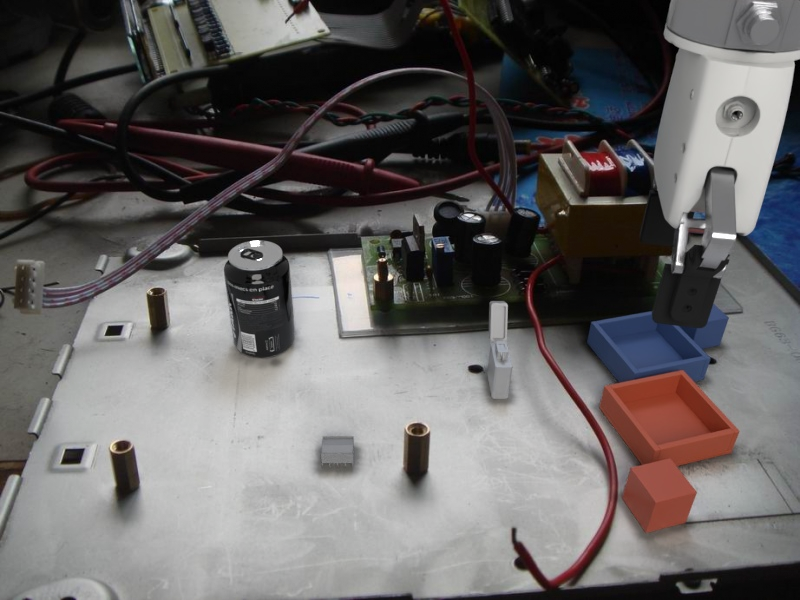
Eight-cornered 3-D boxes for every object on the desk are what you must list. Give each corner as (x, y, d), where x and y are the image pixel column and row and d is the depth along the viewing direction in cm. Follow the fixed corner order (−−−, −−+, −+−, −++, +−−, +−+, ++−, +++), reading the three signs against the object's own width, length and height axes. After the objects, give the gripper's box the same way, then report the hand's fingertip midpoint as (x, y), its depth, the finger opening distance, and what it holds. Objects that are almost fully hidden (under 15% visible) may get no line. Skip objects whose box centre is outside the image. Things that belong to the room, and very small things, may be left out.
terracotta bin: (676, 391, 79) (683, 369, 78) (731, 453, 72) (740, 431, 71) (599, 407, 77) (604, 385, 75) (647, 473, 70) (654, 450, 68)
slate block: (699, 325, 89) (707, 297, 87) (719, 345, 86) (729, 317, 84) (669, 330, 88) (677, 303, 86) (689, 351, 85) (698, 323, 83)
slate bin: (656, 329, 88) (662, 309, 86) (704, 379, 81) (711, 358, 79) (586, 342, 86) (591, 321, 84) (629, 395, 79) (634, 373, 77)
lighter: (508, 398, 78) (516, 338, 73) (491, 398, 78) (499, 338, 73) (499, 355, 84) (506, 296, 79) (483, 355, 84) (489, 296, 79)
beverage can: (257, 320, 88) (247, 231, 81) (307, 336, 86) (301, 246, 79) (222, 353, 83) (207, 261, 76) (273, 371, 81) (264, 278, 74)
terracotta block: (660, 488, 69) (670, 458, 66) (686, 522, 65) (697, 492, 63) (621, 497, 68) (630, 467, 65) (645, 533, 64) (656, 502, 62)
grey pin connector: (321, 468, 70) (320, 453, 69) (322, 450, 72) (322, 436, 70) (353, 468, 70) (353, 453, 69) (354, 450, 72) (353, 436, 70)
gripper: (868, 71, 33) (753, 370, 43) (778, -17, 47) (707, 224, 57) (690, 57, 34) (618, 353, 44) (654, -24, 48) (605, 213, 58)
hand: (668, 280), depth 50 cm, fingers open, 9 cm apart
